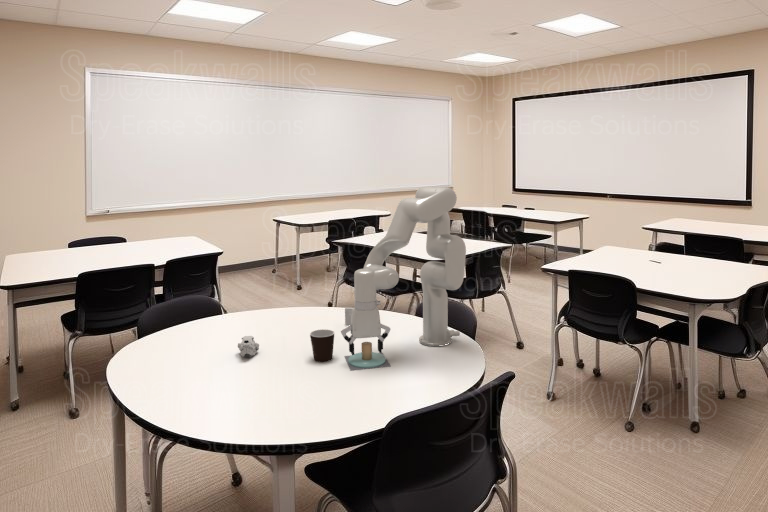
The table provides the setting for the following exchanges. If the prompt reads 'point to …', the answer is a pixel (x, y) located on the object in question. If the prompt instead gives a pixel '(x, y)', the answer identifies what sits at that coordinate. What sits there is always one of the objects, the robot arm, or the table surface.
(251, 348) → the skull
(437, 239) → the robot arm
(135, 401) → the table surface
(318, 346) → the coffee mug
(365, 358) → the lid
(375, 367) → the mat
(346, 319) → the cassette
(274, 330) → the table surface
